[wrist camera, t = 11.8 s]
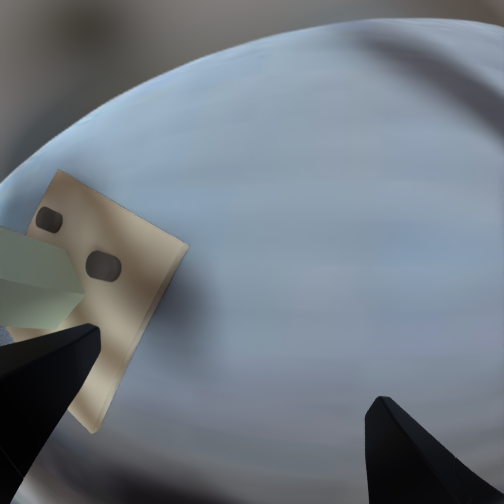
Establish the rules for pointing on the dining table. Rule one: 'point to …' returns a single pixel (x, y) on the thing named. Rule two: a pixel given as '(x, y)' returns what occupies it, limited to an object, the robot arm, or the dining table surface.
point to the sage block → (35, 283)
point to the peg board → (100, 296)
